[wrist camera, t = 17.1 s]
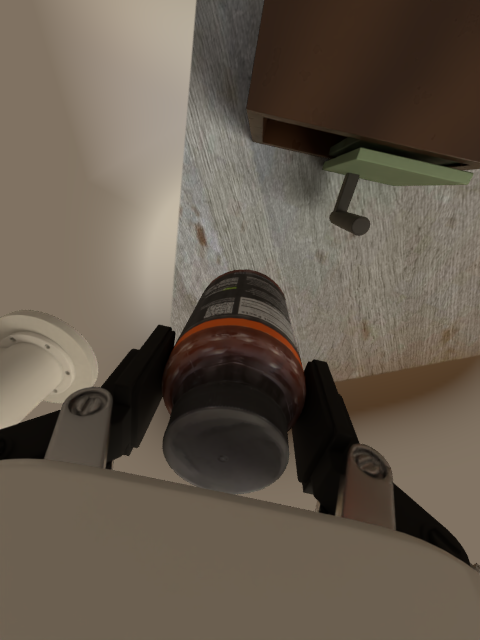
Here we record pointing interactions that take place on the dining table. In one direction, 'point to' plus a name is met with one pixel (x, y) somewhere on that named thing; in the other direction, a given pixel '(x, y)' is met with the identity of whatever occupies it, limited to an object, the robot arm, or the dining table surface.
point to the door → (383, 179)
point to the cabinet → (369, 79)
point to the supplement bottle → (233, 387)
